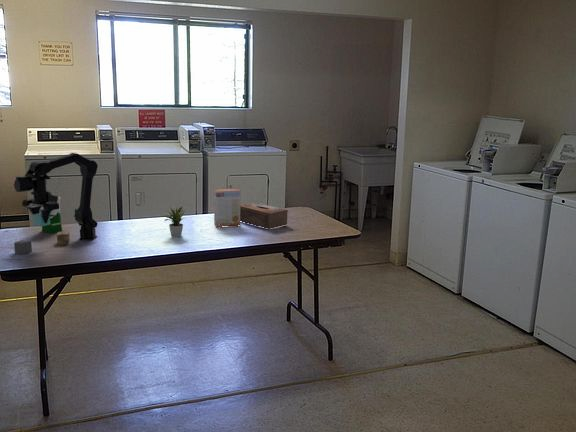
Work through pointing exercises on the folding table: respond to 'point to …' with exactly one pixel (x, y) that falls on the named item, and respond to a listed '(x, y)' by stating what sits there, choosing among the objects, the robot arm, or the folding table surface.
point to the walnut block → (63, 238)
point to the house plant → (175, 222)
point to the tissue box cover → (263, 215)
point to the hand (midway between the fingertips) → (42, 222)
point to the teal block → (40, 220)
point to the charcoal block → (23, 247)
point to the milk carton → (54, 220)
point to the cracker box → (226, 207)
